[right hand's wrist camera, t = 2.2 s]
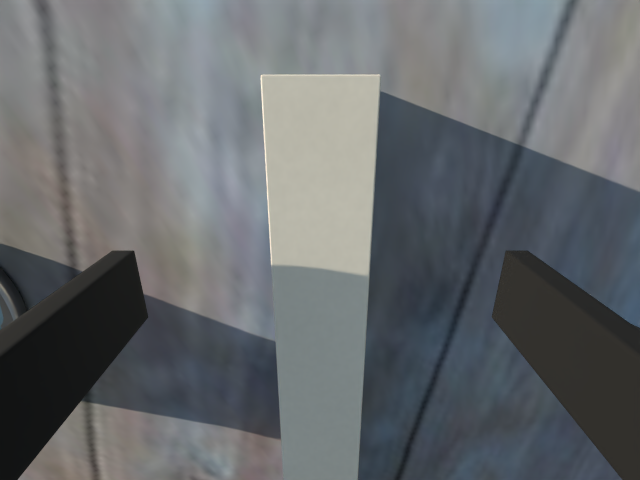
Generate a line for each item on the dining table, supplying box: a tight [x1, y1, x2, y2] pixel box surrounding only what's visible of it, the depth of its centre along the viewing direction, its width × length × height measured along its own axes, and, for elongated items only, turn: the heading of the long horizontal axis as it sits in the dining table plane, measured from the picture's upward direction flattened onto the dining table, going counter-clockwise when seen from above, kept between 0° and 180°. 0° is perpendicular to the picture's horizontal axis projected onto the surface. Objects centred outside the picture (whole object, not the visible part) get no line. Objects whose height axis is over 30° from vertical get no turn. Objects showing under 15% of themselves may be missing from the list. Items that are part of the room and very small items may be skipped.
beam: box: [261, 75, 381, 480], centre depth 30 cm, size 54×6×8 cm, turn 0°
